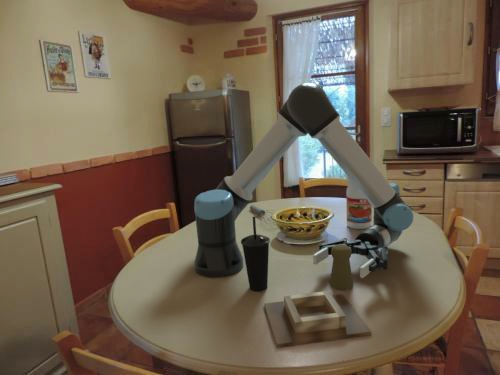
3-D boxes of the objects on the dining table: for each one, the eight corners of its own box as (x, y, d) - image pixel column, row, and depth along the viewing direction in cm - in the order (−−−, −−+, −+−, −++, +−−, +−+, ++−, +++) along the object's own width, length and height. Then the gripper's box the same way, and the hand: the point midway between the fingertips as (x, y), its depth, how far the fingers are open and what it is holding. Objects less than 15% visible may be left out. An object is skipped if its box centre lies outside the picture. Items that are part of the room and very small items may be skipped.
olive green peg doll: (354, 290, 93) (354, 250, 91) (330, 289, 95) (329, 250, 92) (352, 279, 99) (352, 242, 97) (329, 279, 100) (329, 241, 98)
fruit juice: (368, 221, 146) (368, 152, 140) (374, 229, 137) (375, 155, 131) (344, 222, 147) (343, 154, 141) (349, 230, 138) (348, 157, 132)
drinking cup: (256, 278, 104) (251, 211, 99) (277, 285, 99) (274, 215, 95) (238, 289, 98) (233, 218, 94) (261, 297, 93) (256, 223, 89)
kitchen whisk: (256, 208, 178) (255, 195, 176) (284, 228, 146) (283, 213, 145) (244, 209, 176) (243, 197, 175) (270, 230, 145) (269, 215, 143)
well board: (277, 347, 73) (276, 332, 72) (264, 306, 89) (263, 293, 88) (371, 334, 75) (371, 319, 74) (342, 296, 91) (342, 283, 90)
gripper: (415, 262, 101) (383, 293, 86) (335, 244, 118) (297, 267, 103) (416, 237, 99) (384, 264, 84) (335, 222, 116) (296, 242, 101)
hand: (336, 266), depth 94 cm, fingers open, 13 cm apart
